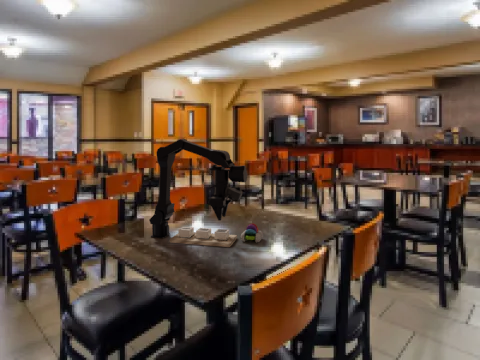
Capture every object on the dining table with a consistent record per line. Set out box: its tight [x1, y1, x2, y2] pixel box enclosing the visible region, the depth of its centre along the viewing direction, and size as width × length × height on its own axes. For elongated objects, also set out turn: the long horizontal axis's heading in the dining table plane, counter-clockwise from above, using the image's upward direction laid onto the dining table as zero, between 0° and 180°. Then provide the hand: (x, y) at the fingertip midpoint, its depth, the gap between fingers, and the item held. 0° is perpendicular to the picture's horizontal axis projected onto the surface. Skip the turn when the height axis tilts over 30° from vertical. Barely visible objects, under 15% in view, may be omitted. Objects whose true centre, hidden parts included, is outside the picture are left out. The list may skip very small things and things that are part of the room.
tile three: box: [214, 228, 230, 241], centre depth 145 cm, size 5×5×3 cm
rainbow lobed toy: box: [240, 222, 264, 244], centre depth 147 cm, size 8×10×7 cm
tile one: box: [177, 226, 195, 238], centre depth 149 cm, size 5×5×3 cm
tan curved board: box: [169, 231, 238, 248], centre depth 147 cm, size 26×12×2 cm, turn 77°
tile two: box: [195, 227, 212, 240], centre depth 147 cm, size 5×5×3 cm
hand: (221, 218), depth 144 cm, fingers open, 6 cm apart
